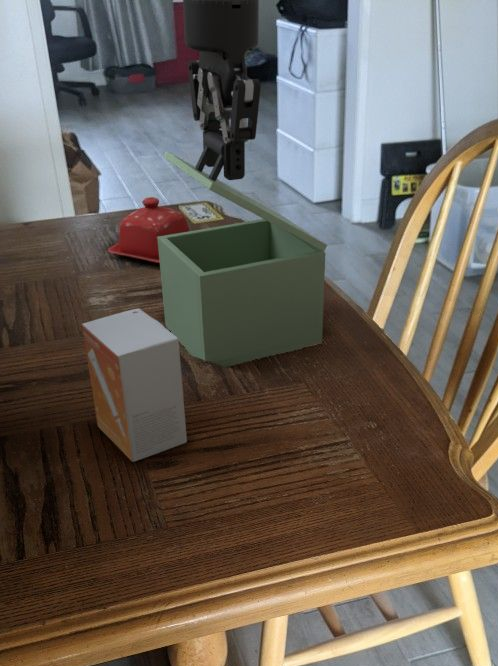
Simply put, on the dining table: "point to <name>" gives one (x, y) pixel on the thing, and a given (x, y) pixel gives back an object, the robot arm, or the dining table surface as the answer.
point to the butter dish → (147, 230)
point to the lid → (212, 183)
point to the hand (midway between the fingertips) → (223, 171)
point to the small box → (136, 382)
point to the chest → (242, 291)
